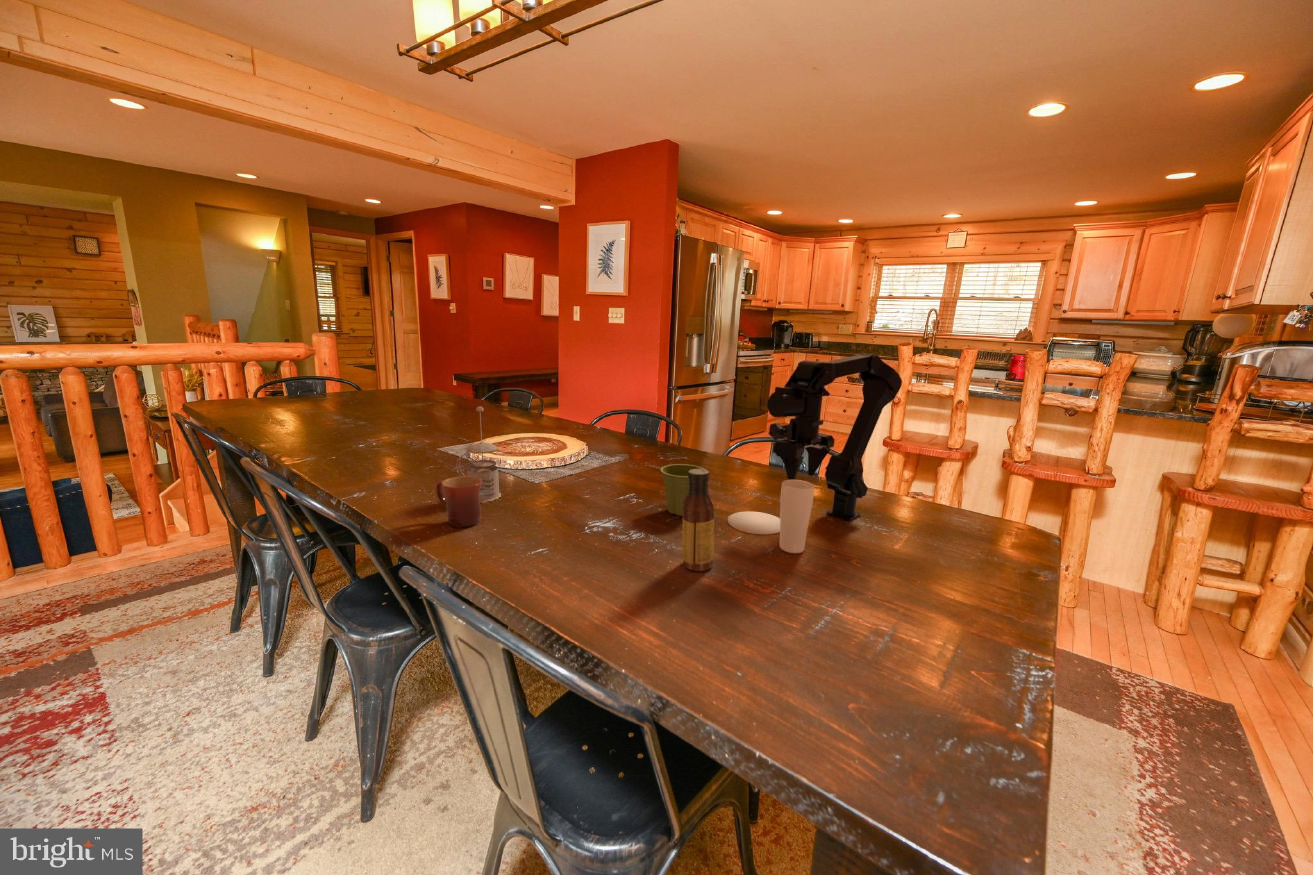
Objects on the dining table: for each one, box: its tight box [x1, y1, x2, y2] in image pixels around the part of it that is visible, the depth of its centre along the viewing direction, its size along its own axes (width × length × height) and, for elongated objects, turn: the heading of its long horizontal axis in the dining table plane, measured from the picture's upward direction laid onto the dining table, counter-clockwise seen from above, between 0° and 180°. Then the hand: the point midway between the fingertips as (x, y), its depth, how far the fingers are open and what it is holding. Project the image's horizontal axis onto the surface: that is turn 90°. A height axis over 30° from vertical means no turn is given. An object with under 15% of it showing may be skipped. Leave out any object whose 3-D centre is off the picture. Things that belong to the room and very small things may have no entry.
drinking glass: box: [778, 479, 815, 554], centre depth 108 cm, size 7×7×15 cm
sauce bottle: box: [681, 468, 715, 572], centre depth 98 cm, size 7×6×20 cm
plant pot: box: [660, 463, 706, 517], centre depth 128 cm, size 12×12×11 cm
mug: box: [435, 475, 483, 529], centre depth 117 cm, size 12×9×10 cm
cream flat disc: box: [727, 510, 780, 536], centre depth 124 cm, size 14×14×1 cm
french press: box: [455, 406, 502, 502], centre depth 132 cm, size 10×12×25 cm
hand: (800, 478), depth 120 cm, fingers open, 9 cm apart
